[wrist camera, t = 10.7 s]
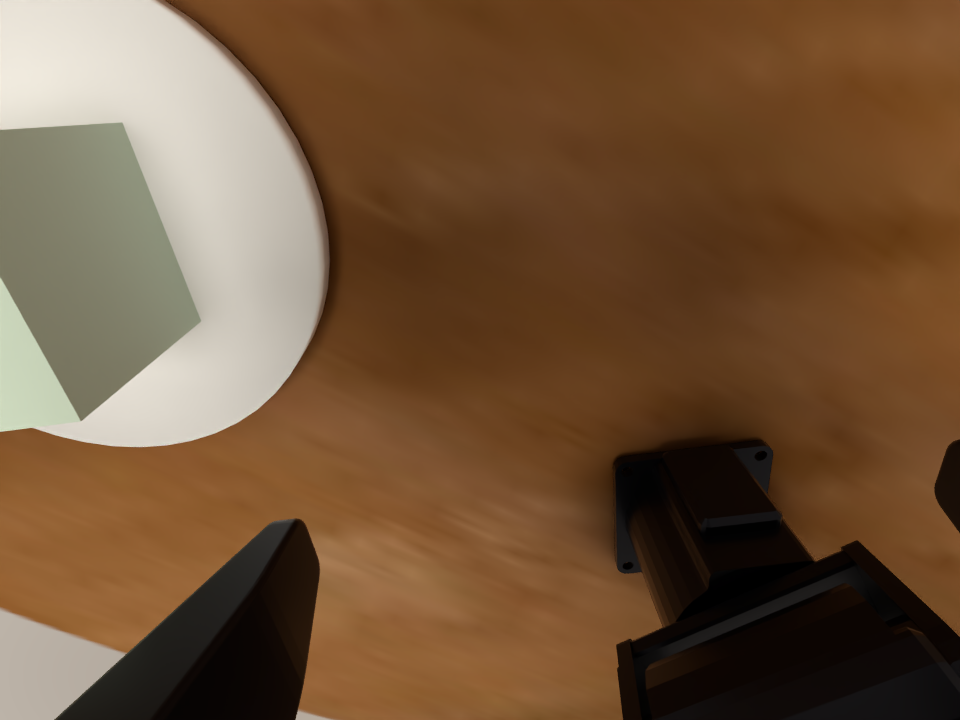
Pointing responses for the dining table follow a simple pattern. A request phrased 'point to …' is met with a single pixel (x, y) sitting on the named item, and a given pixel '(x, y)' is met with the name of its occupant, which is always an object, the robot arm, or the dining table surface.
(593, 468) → the dining table surface
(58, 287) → the sage cube
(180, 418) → the plate
